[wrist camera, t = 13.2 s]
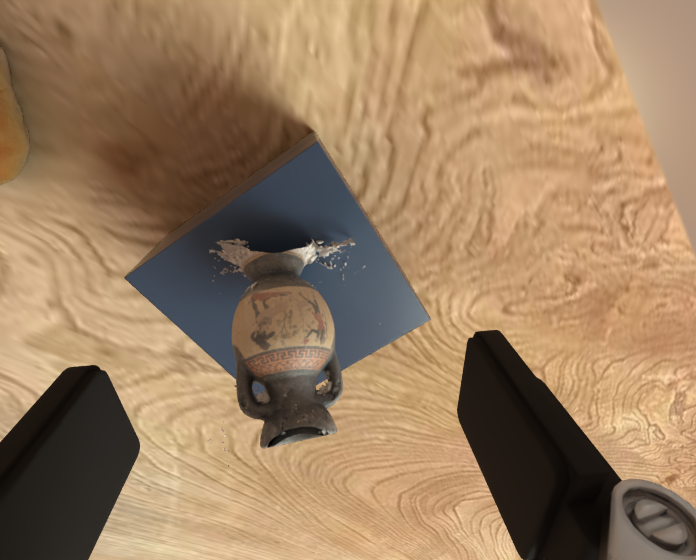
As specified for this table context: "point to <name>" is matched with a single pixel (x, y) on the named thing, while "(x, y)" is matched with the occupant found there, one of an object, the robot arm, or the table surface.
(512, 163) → the table surface
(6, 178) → the pastry
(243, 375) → the vase
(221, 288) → the block
